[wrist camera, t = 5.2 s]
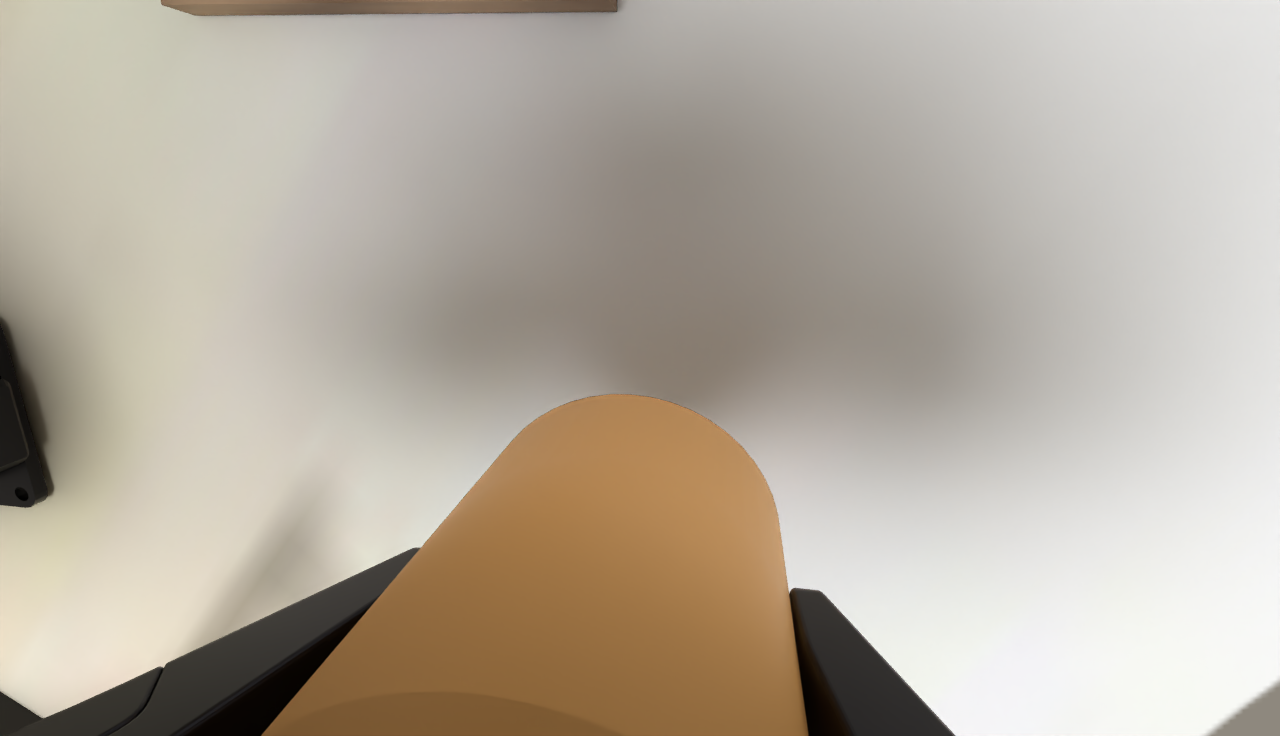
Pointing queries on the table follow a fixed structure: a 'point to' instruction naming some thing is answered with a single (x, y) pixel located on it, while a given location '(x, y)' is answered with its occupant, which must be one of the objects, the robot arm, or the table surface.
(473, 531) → the orange cylinder
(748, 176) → the table surface
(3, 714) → the smart home device
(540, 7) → the walnut pad
